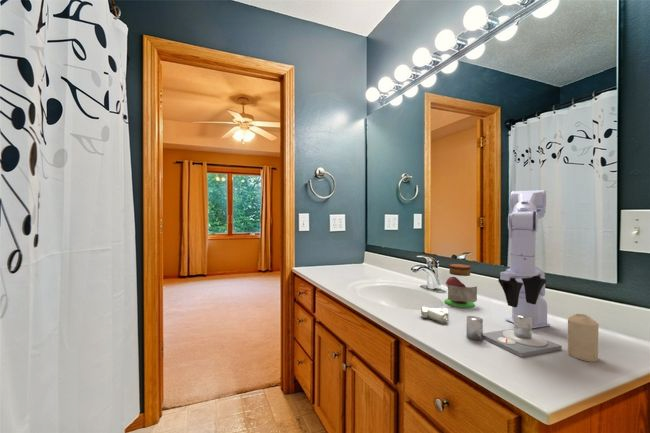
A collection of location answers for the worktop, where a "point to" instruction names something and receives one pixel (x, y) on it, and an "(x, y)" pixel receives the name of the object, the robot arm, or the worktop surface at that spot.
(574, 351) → the candle
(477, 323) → the cylinder
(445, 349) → the worktop surface
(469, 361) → the worktop surface
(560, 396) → the worktop surface
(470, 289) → the multicoloured stacked round part
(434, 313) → the pipe fitting
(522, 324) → the cylinder
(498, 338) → the scale
